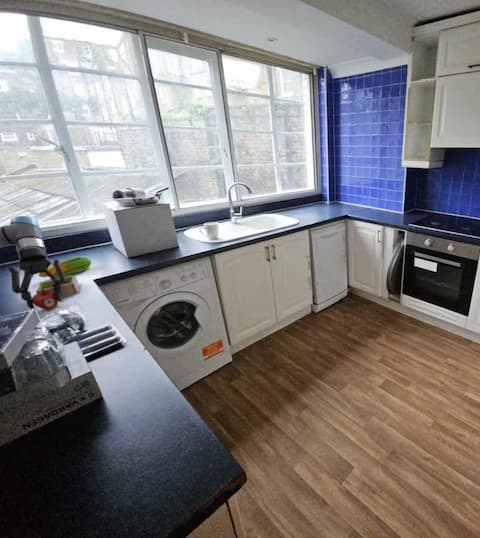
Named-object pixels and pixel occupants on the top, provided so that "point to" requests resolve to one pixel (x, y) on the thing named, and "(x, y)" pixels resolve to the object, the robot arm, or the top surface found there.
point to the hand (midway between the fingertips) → (45, 303)
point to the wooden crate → (63, 286)
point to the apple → (45, 298)
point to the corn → (69, 267)
